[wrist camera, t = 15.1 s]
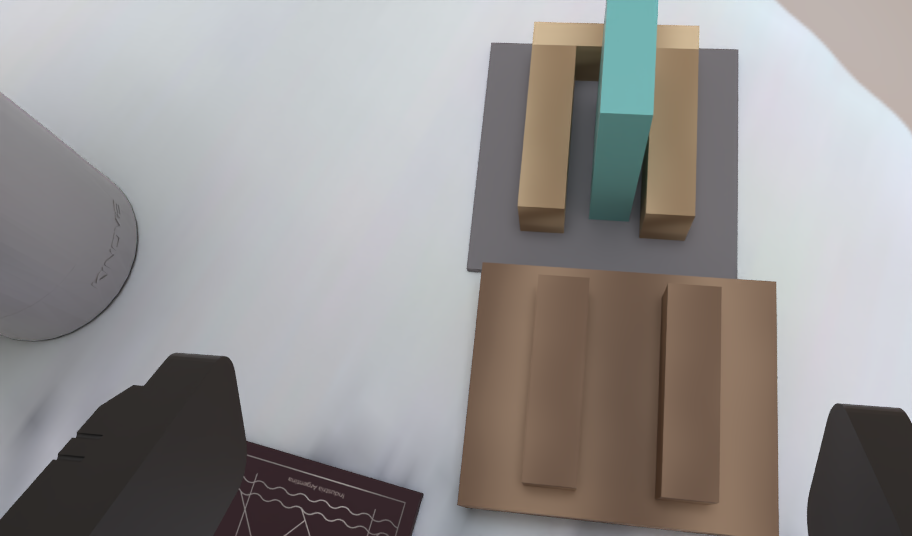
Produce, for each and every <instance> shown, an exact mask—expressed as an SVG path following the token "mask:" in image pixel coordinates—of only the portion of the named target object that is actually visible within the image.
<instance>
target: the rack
mask: <svg viewBox="0 0 912 536" xmlns="http://www.w3.org/2000/svg"><path fill="white" fill-rule="evenodd" d="M603 30H604V24H597V23H555V22H534V32H533V43H532V54H531V65H530V76H529V87H528V98H527V108H526V119H525V130H524V141H523V152H522V163H521V174H520V184H519V195H518V215H519V223H520V231H532V232H548V233H564V224H565V210H566V196H567V183H568V169H569V155H570V142H571V128H572V114H573V100H574V87H575V81H599V72H600V61H601V51H602V40H603ZM698 63H699V26H681V25H657V41H656V64H655V88H654V111H653V119H652V123H651V127H650V132H649V136H648V140H647V144H646V149H645V153H644V157H643V162H642V184H641V207H640V230H639V238H647V239H663V240H680V241H685V238H686V236H687V234H688V231H689V229H690V227H691V225H692V222H693V220H694V218H695V202H696V156H697V109H698Z"/></svg>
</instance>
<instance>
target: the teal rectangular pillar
mask: <svg viewBox="0 0 912 536" xmlns="http://www.w3.org/2000/svg"><path fill="white" fill-rule="evenodd" d="M657 17H658V0H606V8H605V19H604V30H603V40H602V51H601V61H600V72H599V82H598V93H597V104H596V119H595V134H594V149H593V164H592V179H591V194H590V209H589V219H594V220H610V221H627V222H629V218H630V213H631V209H632V205H633V200H634V196H635V192H636V188H637V183H638V179H639V175H640V170H641V166H642V162H643V157H644V153H645V149H646V144H647V140H648V136H649V132H650V127H651V123H652V119H653V111H654V88H655V64H656V41H657Z"/></svg>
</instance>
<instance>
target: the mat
mask: <svg viewBox="0 0 912 536" xmlns="http://www.w3.org/2000/svg"><path fill="white" fill-rule="evenodd" d="M531 54H532V44H519V43H491V52H490V61H489V70H488V79H487V89H486V98H485V107H484V116H483V125H482V134H481V143H480V153H479V162H478V171H477V180H476V189H475V198H474V207H473V216H472V226H471V235H470V244H469V253H468V262H467V270H468V271H474V272H482V262H487V263H502V264H517V265H532V266H547V267H562V268H577V269H592V270H607V271H622V272H637V273H652V274H666V275H681V276H696V277H711V278H726V279H737V212H738V50H736V49H700V48H699V63H698V109H697V156H696V202H695V218H694V220H693V222H692V225H691V227H690V229H689V231H688V234H687V236H686V238H685V241H680V240H663V239H647V238H639V230H640V207H641V184H642V166H641V170H640V175H639V179H638V183H637V188H636V192H635V196H634V200H633V205H632V209H631V213H630V218H629V222H627V221H610V220H594V219H589V209H590V194H591V179H592V164H593V149H594V134H595V119H596V104H597V93H598V82H599V81H575V87H574V100H573V114H572V128H571V142H570V155H569V169H568V183H567V196H566V210H565V224H564V233H548V232H532V231H520V223H519V215H518V195H519V184H520V174H521V163H522V152H523V141H524V130H525V119H526V108H527V98H528V87H529V76H530V65H531Z"/></svg>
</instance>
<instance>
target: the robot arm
mask: <svg viewBox="0 0 912 536" xmlns="http://www.w3.org/2000/svg"><path fill="white" fill-rule="evenodd" d="M136 244H137V229H136V220H135V216H134V213H133V210H132V207H131V204H130V203H129V201H128V200H127V198H126V196H125V195H124V193H123V192H122V190H121V189H120V188H118V187H117V186H116V185H115V184H114V183H113V182H112V181H111V180H110V179H109V178H107V177H106V176H105V175H104V174H102V173H101V172H100V171H99V170H97V169H96V168H95V167H94V166H92V165H91V164H90V163H89V162H87V161H86V160H85V159H84V158H82V157H81V156H80V155H79V154H77V153H76V152H75V151H74V150H73V149H71V148H70V147H69V146H68V145H67V144H65V143H64V142H63V141H62V140H60V139H59V138H58V137H57V136H55V135H54V134H53V133H52V132H50V131H49V130H48V129H47V128H45V127H44V126H43V125H42V124H40V123H39V122H38V121H37V120H35V119H34V118H33V117H32V116H30V115H29V114H28V113H27V112H25V111H24V110H23V109H21V108H20V107H19V106H18V105H16V104H15V103H14V102H13V101H11V100H10V99H9V98H8V97H6V96H5V95H4V94H3V93H1V92H0V335H3V336H6V337H9V338H12V339H16V340H26V341H38V340H46V339H53V338H56V337H59V336H62V335H65V334H68V333H71V332H72V331H74V330H76V329H78V328H80V327H81V326H83V325H85V324H87V323H88V322H90V321H91V320H92V319H93V318H95V317H96V316H97V315H98V314H99V313H101V312H102V311H103V310H104V309H105V308H106V307H107V306H108V305H109V303H110V302H111V301H112V300H113V299H114V298H115V296H116V295H117V294H118V293H119V291H120V289H121V287H122V286H123V284H124V282H125V280H126V279H127V277H128V275H129V272H130V269H131V266H132V264H133V261H134V258H135V252H136ZM246 460H247V443H246V436H245V430H244V424H243V418H242V412H241V405H240V399H239V393H238V387H237V381H236V375H235V370H234V366H233V363H232V361H231V360H230V359H229V358H228V357H226V356H213V355H200V354H186V353H173V354H171V355H170V356H169V357H168V358H167V359H166V360H165V361H164V362H163V364H162V365H161V366H160V367H159V368H158V370H157V371H156V372H155V373H154V374H153V376H152V377H151V378H150V379H149V380H148V382H147V383H146V384H145V385H144V386H137V385H133V386H131V387H130V388H128V389H126V390H125V391H123V392H122V393H120V394H119V395H117V396H115V397H114V398H112V399H111V400H109V401H108V402H106V403H104V404H103V405H101V406H100V407H99V408H98V409H97V410H96V411H95V412H94V413H93V415H92V416H91V417H90V418H89V419H88V420H87V421H86V423H85V424H84V425H83V426H82V427H81V428H80V429H79V431H78V432H77V436H76V438H72V439H71V440H70V441H69V442H68V443H67V444H66V445H65V447H64V448H63V449H62V450H61V451H60V452H59V453H58V458H57V460H52V461H51V462H50V464H49V465H48V466H47V467H46V468H45V469H44V470H43V472H42V473H41V474H40V475H39V476H38V477H37V478H36V480H35V481H34V482H33V483H32V484H31V485H30V486H29V488H28V489H27V490H26V491H25V492H24V493H23V494H22V495H21V497H20V498H19V499H18V500H17V501H16V502H15V503H14V505H13V506H12V507H11V508H10V509H9V510H8V511H7V513H6V514H5V515H4V516H3V517H2V518H1V519H0V536H213V535H214V533H215V531H216V530H217V528H218V526H219V524H220V522H221V520H222V519H223V517H224V515H225V513H226V511H227V509H228V508H229V506H230V504H231V502H232V500H233V499H234V497H235V495H236V493H237V491H238V489H239V487H240V485H241V482H242V479H243V476H244V472H245V467H246ZM807 526H808V535H809V536H912V423H911V421H910V419H909V417H908V416H907V414H906V413H905V412H904V411H903V410H902V409H900V408H891V407H878V406H864V405H851V404H835V405H834V406H833V407H832V409H831V411H830V413H829V416H828V419H827V423H826V427H825V431H824V435H823V439H822V443H821V448H820V452H819V456H818V460H817V464H816V468H815V472H814V476H813V480H812V484H811V488H810V492H809V497H808V506H807Z"/></svg>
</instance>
